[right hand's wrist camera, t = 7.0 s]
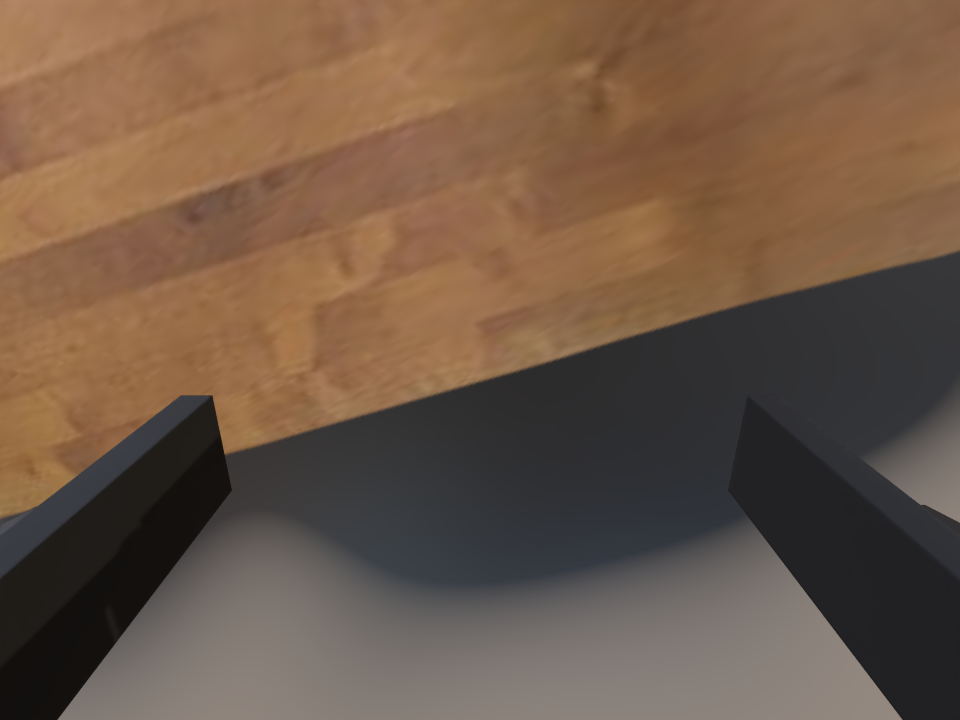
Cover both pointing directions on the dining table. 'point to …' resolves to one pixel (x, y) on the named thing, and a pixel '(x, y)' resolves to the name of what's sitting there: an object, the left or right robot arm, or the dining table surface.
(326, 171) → the dining table surface
